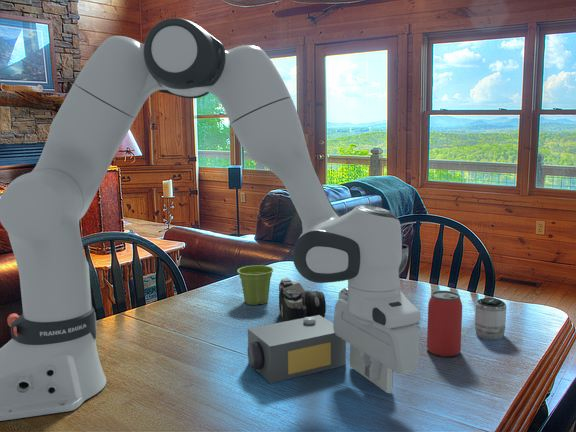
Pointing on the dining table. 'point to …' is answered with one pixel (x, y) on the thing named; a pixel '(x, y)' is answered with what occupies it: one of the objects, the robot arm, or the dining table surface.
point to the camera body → (295, 348)
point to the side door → (384, 374)
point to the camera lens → (490, 318)
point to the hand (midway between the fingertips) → (371, 376)
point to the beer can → (444, 323)
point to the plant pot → (255, 283)
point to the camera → (299, 301)
